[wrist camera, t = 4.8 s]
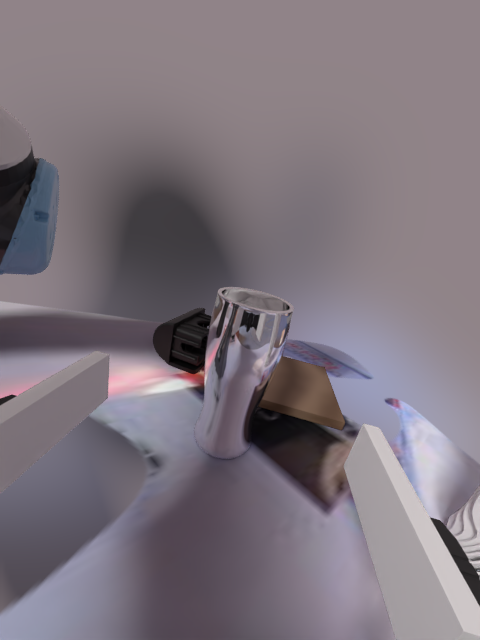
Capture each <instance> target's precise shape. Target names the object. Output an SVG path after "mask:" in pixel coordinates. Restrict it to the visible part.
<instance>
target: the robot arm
mask: <svg viewBox="0 0 480 640" xmlns="http://www.w3.org/2000/svg"><path fill="white" fill-rule="evenodd" d="M58 200H59V176H58V170H57V168H56V167H55V166H54V165H53V164H51V163H48V162H46V160H44V159H41V158H40V159H38V158H35V159H34V156H33V151H32V146H31V141H30V138H29V134H28V132H27V131H26V129H25V128H24V126H23V125H22V124H21V123H20V122H19V121H18V120H17V119H16V118H15V117H14V116H13V115H11V114H10V113H9V112H8V111H7V110H6V109H4V108H3V107H2V106H1V105H0V275H1V274H5V273H6V274H27V275H33V274H37V273H41V272H42V271H44V270H45V269H46V268H47V267H48V265H49V263H50V260H51V255H52V250H53V245H54V239H55V231H56V223H57V212H58ZM109 356H110V354H106V353H102V352H99V351H95V352H93V353H91V354H89V355H88V356H86V357H84V358H82V359H81V360H79V361H77V362H75V363H74V364H72V365H70V366H68V367H67V368H65V369H63V370H61V371H60V372H58V373H56V374H54V375H53V376H51V377H49V378H47V379H46V380H44V381H42V382H40V383H39V384H37V385H35V386H33V387H32V388H30V389H28V390H26V391H25V392H23V393H21V394H19V395H18V396H15V395H10V396H7V397H4V398H1V399H0V494H1V492H3V491H4V490H5V489H6V488H7V487H8V486H9V485H11V484H12V483H13V482H14V481H15V480H16V479H17V478H19V477H20V476H21V475H22V474H23V473H24V472H25V471H26V470H28V469H29V468H30V467H31V466H32V465H33V464H34V463H35V462H36V461H38V460H39V459H40V458H41V457H42V456H43V455H44V454H46V453H47V452H48V451H49V450H50V449H51V448H52V447H53V446H55V444H57V443H58V442H59V441H60V440H61V439H62V438H63V437H65V436H66V435H67V434H68V433H69V432H70V431H71V430H72V429H74V427H76V426H77V425H78V424H79V423H80V422H81V421H83V420H84V419H85V418H86V417H87V416H88V415H89V414H90V413H92V412H93V411H94V410H95V409H96V408H97V407H98V406H99V405H101V404H102V403H103V402H104V401H105V400H106V399H107V398H108V379H109ZM344 469H345V472H346V475H347V479H348V482H349V485H350V489H351V492H352V495H353V499H354V502H355V505H356V509H357V512H358V515H359V519H360V522H361V525H362V529H363V532H364V535H365V539H366V542H367V545H368V548H369V552H370V555H371V558H372V562H373V565H374V568H375V572H376V575H377V578H378V582H379V585H380V588H381V592H382V595H383V598H384V602H385V605H386V608H387V612H388V615H389V618H390V622H391V625H392V628H393V632H394V635H395V638H396V640H480V579H479V575H478V573H477V572H476V570H475V568H474V567H473V565H472V564H471V563H469V559H468V557H467V555H466V554H465V552H464V550H463V549H462V547H461V546H460V544H459V542H458V541H457V539H456V538H455V537H454V536H453V534H452V533H451V532H450V531H449V530H448V529H447V528H446V526H445V525H444V524H443V523H442V522H441V521H440V520H437V519H434V518H430V517H429V515H428V514H427V512H426V510H425V508H424V506H423V505H422V503H421V501H420V499H419V498H418V496H417V494H416V492H415V490H414V489H413V487H412V485H411V483H410V481H409V480H408V478H407V476H406V474H405V473H404V471H403V469H402V467H401V465H400V464H399V462H398V460H397V458H396V457H395V455H394V453H393V451H392V449H391V448H390V446H389V444H388V442H387V441H386V439H385V437H384V435H383V433H382V432H381V430H380V428H378V427H374V426H371V425H367V424H363V425H362V427H361V430H360V432H359V434H358V436H357V438H356V440H355V443H354V445H353V447H352V449H351V451H350V454H349V456H348V458H347V460H346V462H345V464H344Z"/></svg>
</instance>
